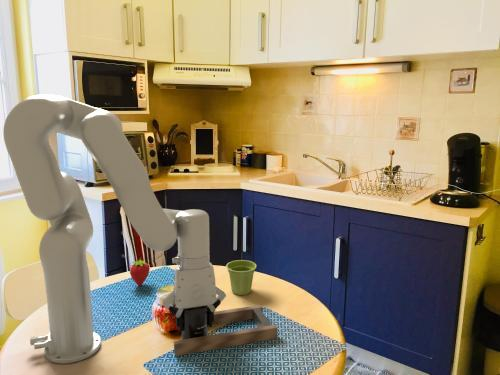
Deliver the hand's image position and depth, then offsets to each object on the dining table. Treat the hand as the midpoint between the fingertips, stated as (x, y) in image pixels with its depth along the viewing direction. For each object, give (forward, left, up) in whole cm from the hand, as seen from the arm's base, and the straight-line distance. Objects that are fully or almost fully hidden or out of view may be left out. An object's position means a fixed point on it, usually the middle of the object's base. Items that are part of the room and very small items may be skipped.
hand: (195, 326), depth 107 cm
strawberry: (-11, +35, -4) cm, 37 cm away
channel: (+7, 0, -3) cm, 8 cm away
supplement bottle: (0, 0, -4) cm, 4 cm away
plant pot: (+19, +22, -4) cm, 29 cm away
